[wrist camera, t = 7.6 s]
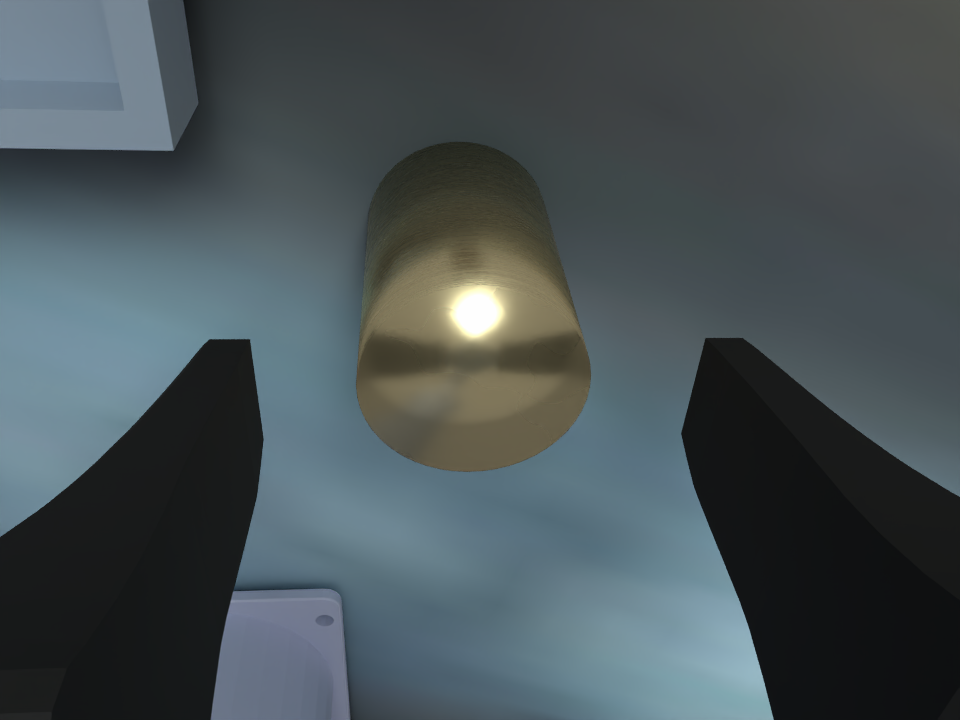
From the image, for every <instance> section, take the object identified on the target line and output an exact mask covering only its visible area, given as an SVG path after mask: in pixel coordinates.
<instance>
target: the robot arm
mask: <svg viewBox="0 0 960 720" xmlns="http://www.w3.org/2000/svg"><path fill="white" fill-rule="evenodd" d="M681 435H682V439H683V443H684V448H685V452H686V457H687V461H688V465H689V469H690V473H691V477H692V481H693V485H694V488H695V491H696V493H697V496H698V499H699V501H700V504H701V506H702V509H703V511H704V514H705V516H706V519H707V521H708V524H709V527H710V529H711V531H712V534H713V536H714V539H715V541H716V544H717V546H718V549H719V551H720V554H721V556H722V559H723V561H724V564H725V566H726V568H727V571H728V573H729V576H730V578H731V581H732V583H733V586H734V588H735V591H736V593H737V596H738V598H739V601H740V603H741V606H742V609H743V612H744V615H745V617H746V620H747V623H748V626H749V629H750V633H751V636H752V640H753V643H754V647H755V651H756V654H757V658H758V661H759V665H760V668H761V672H762V675H763V679H764V683H765V687H766V691H767V695H768V698H769V702H770V706H771V710H772V714H773V718H774V720H960V497H959V496H957V495H955V494H953V493H952V492H950V491H948V490H947V489H945V488H943V487H942V486H940V485H938V484H937V483H935V482H934V481H932V480H930V479H929V478H927V477H925V476H924V475H922V474H921V473H919V472H917V471H916V470H914V469H912V468H911V467H909V466H908V465H906V464H905V463H903V462H902V461H900V460H899V459H897V458H896V457H894V456H893V455H891V454H890V453H888V452H887V451H886V450H884V449H883V448H881V447H880V446H879V445H877V444H876V443H874V442H873V441H872V440H870V439H869V438H867V437H866V436H865V435H863V434H862V433H861V432H859V431H858V430H856V429H855V428H854V427H853V426H851V425H850V424H849V423H847V422H846V421H845V420H843V419H842V418H841V417H839V416H838V415H837V414H836V413H834V412H833V411H832V410H831V409H829V408H828V407H827V406H826V405H824V404H823V403H822V402H821V401H819V400H818V399H817V398H816V397H814V396H813V395H812V394H811V393H810V392H808V391H807V390H806V389H805V388H803V387H802V386H801V385H800V384H799V383H797V382H796V381H795V380H794V379H793V378H791V377H790V376H789V375H788V374H787V373H785V372H784V371H783V370H782V369H781V368H779V367H778V366H777V365H776V364H775V363H773V362H772V361H771V360H770V359H769V358H767V357H766V356H765V355H764V354H763V353H761V352H760V351H759V350H758V349H756V348H755V347H754V346H752V345H751V344H750V343H748V342H747V341H746V340H744V339H743V338H706V339H705V343H704V346H703V350H702V354H701V358H700V362H699V366H698V370H697V374H696V378H695V382H694V386H693V390H692V394H691V397H690V401H689V405H688V409H687V413H686V417H685V421H684V425H683V429H682V433H681ZM262 449H263V432H262V424H261V417H260V410H259V402H258V395H257V388H256V381H255V373H254V366H253V359H252V352H251V344H250V339H209V340H208V341H207V342H206V343H205V344H204V345H203V346H202V347H201V348H200V350H199V351H198V352H197V353H196V354H195V356H194V357H193V358H192V359H191V360H190V362H189V363H188V364H187V365H186V367H185V368H184V369H183V370H182V371H181V373H180V374H179V375H178V376H177V377H176V378H175V380H174V381H173V382H172V383H171V384H170V385H169V387H168V388H167V389H166V390H165V391H164V392H163V394H162V395H161V396H160V397H159V398H158V399H157V400H156V401H155V402H154V403H153V405H152V406H151V407H150V408H149V409H148V410H147V411H146V412H145V413H144V414H143V415H142V417H141V418H140V419H139V420H138V421H137V422H136V423H135V424H134V425H133V426H132V427H131V428H130V429H129V430H128V431H127V432H126V433H125V434H124V435H123V436H122V437H121V438H120V439H119V440H118V441H117V442H116V443H115V444H114V445H113V446H112V447H111V448H110V449H109V450H108V451H107V452H106V453H105V454H104V455H103V456H102V457H101V458H100V459H99V460H98V461H97V462H96V463H95V464H93V465H92V466H91V467H90V468H89V469H88V470H87V471H86V472H85V473H83V474H82V475H81V476H80V477H79V478H78V479H77V480H76V481H74V482H73V483H72V484H71V485H70V486H69V487H67V488H66V489H65V490H64V491H62V492H61V493H60V494H59V495H57V496H56V497H55V498H54V499H52V500H51V501H50V502H49V503H47V504H46V505H45V506H44V507H42V508H41V509H40V510H38V511H37V512H35V513H34V514H33V515H31V516H30V517H28V518H27V519H25V520H24V521H23V522H21V523H20V524H18V525H17V526H15V527H14V528H13V529H11V530H10V531H8V532H7V533H5V534H4V535H3V536H1V537H0V720H351V717H350V704H349V690H348V677H347V663H346V650H345V636H344V623H343V609H342V599H341V596H340V595H339V594H338V593H337V592H336V591H333V590H331V589H291V590H258V591H233V590H234V586H235V582H236V578H237V574H238V570H239V567H240V563H241V559H242V555H243V551H244V547H245V543H246V539H247V535H248V531H249V527H250V523H251V519H252V514H253V510H254V506H255V502H256V498H257V492H258V484H259V476H260V467H261V458H262Z"/></svg>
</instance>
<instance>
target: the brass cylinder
mask: <svg viewBox="0 0 960 720" xmlns="http://www.w3.org/2000/svg"><path fill="white" fill-rule="evenodd" d="M590 380H591V370H590V361H589V357H588V353H587V349H586V346H585V342H584V339H583V335H582V332H581V328H580V325H579V322H578V318H577V315H576V311H575V308H574V304H573V301H572V297H571V294H570V291H569V287H568V284H567V280H566V277H565V273H564V270H563V266H562V263H561V259H560V256H559V253H558V249H557V246H556V242H555V239H554V235H553V232H552V228H551V225H550V222H549V218H548V215H547V211H546V208H545V204H544V201H543V198H542V195H541V193H540V190H539V188H538V186H537V185H536V183H535V181H534V179H533V178H532V177H531V176H530V174H529V173H528V172H527V170H526V169H524V168H523V167H522V166H521V165H520V164H519V163H518V162H517V161H515V160H514V159H513V158H511V157H510V156H508V155H506V154H504V153H503V152H501V151H499V150H496V149H494V148H491V147H488V146H485V145H480V144H476V143H468V142H449V143H443V144H437V145H433V146H430V147H426V148H424V149H422V150H419V151H417V152H415V153H413V154H411V155H410V156H408V157H406V158H404V159H403V160H402V161H401V162H399V163H398V164H397V165H395V166H394V167H393V168H392V169H391V170H390V171H389V173H388V174H387V175H386V176H385V177H384V179H383V180H382V181H381V183H380V185H379V186H378V188H377V190H376V192H375V194H374V197H373V199H372V202H371V206H370V211H369V218H368V232H367V245H366V259H365V272H364V285H363V299H362V312H361V325H360V339H359V352H358V365H357V380H356V389H357V398H358V401H359V405H360V408H361V411H362V413H363V415H364V417H365V420H366V421H367V423H368V424H369V426H370V427H371V429H372V430H373V431H374V433H375V434H376V435H377V436H378V437H379V438H380V439H381V440H382V441H383V442H384V443H385V444H387V445H388V446H389V447H390V448H392V449H393V450H395V451H396V452H398V453H399V454H401V455H402V456H404V457H406V458H408V459H411V460H413V461H415V462H418V463H420V464H423V465H426V466H430V467H434V468H438V469H443V470H450V471H463V472H472V471H485V470H492V469H498V468H502V467H506V466H510V465H513V464H516V463H519V462H522V461H524V460H526V459H528V458H530V457H533V456H535V455H537V454H538V453H540V452H542V451H543V450H545V449H547V448H548V447H549V446H551V445H552V444H553V443H555V442H556V441H557V440H558V439H559V438H560V437H562V436H563V435H564V434H565V433H566V432H567V431H568V429H569V428H570V427H571V426H572V425H573V423H574V422H575V421H576V419H577V417H578V416H579V414H580V413H581V411H582V409H583V406H584V404H585V402H586V400H587V396H588V392H589V388H590Z"/></svg>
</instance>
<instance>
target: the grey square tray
mask: <svg viewBox="0 0 960 720" xmlns="http://www.w3.org/2000/svg"><path fill="white" fill-rule="evenodd" d="M198 104H199V103H198V96H197V90H196V83H195V76H194V69H193V63H192V56H191V49H190V43H189V36H188V29H187V23H186V16H185V9H184V3H183V0H0V148H25V149H89V150H154V151H174V149H175V147H176V145H177V144H178V142H179V140H180V138H181V136H182V134H183V132H184V130H185V128H186V126H187V125H188V123H189V121H190V119H191V117H192V115H193V113H194V111H195V109H196V107H197V106H198Z"/></svg>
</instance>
